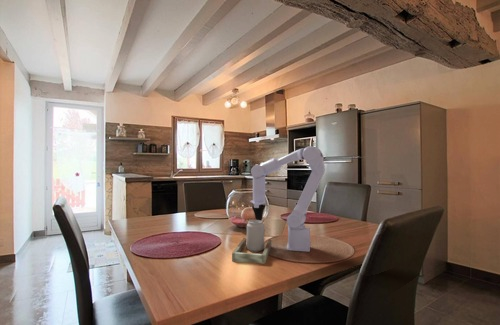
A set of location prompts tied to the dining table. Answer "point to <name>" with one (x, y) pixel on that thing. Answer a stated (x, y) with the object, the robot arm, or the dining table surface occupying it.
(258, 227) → the can
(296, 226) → the robot arm
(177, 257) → the dining table surface
